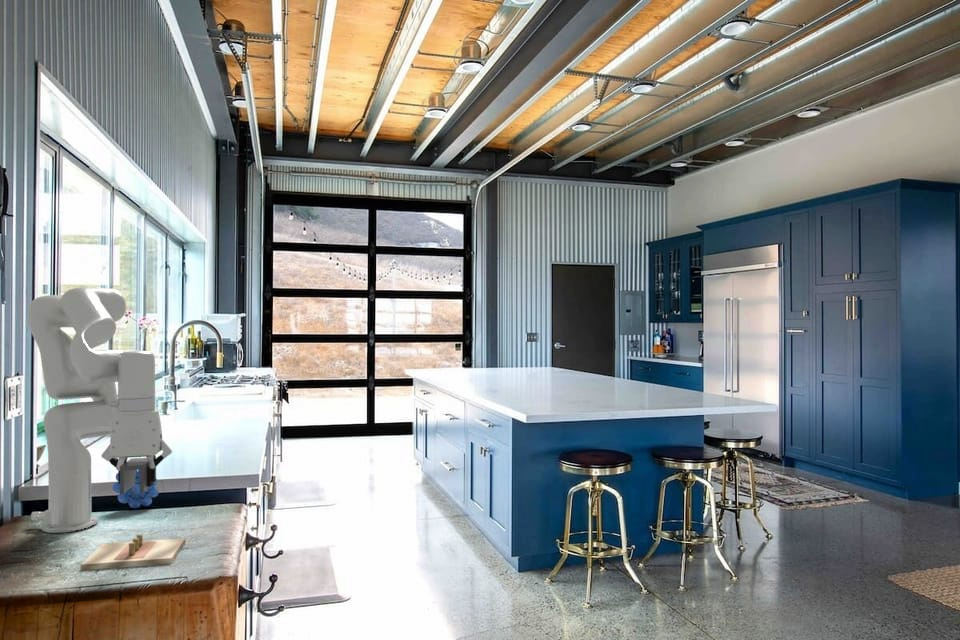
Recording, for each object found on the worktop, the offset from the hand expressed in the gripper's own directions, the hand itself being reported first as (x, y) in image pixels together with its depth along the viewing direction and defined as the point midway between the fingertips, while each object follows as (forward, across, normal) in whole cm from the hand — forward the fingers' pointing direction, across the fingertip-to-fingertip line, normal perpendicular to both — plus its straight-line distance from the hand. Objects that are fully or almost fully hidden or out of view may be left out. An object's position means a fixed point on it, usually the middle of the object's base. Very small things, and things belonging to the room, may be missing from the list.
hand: (137, 485), depth 155 cm
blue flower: (+16, -11, +41) cm, 46 cm away
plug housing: (+1, 0, 0) cm, 1 cm away
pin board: (+16, 0, -1) cm, 16 cm away
